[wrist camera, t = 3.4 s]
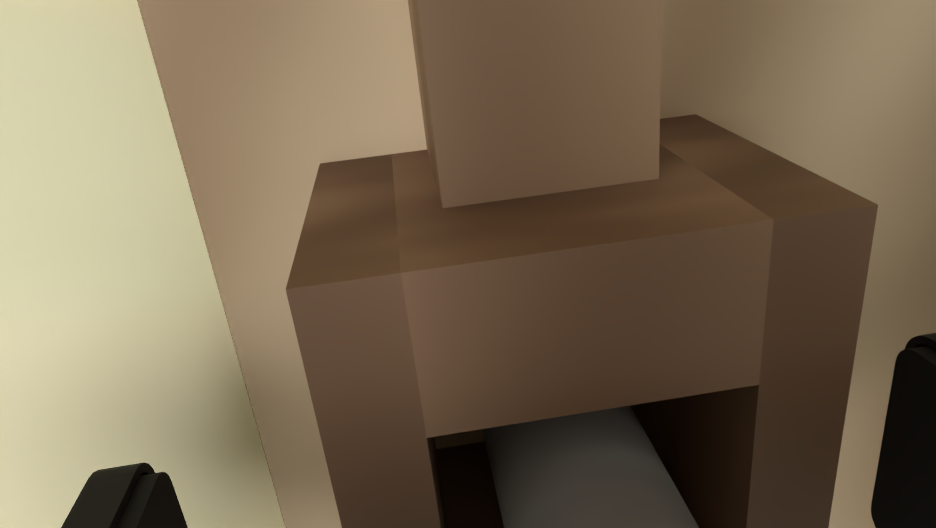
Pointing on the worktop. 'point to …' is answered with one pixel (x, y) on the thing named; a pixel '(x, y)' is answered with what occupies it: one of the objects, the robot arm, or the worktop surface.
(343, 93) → the stake board
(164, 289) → the worktop surface
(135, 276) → the worktop surface
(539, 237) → the collar
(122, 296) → the worktop surface
